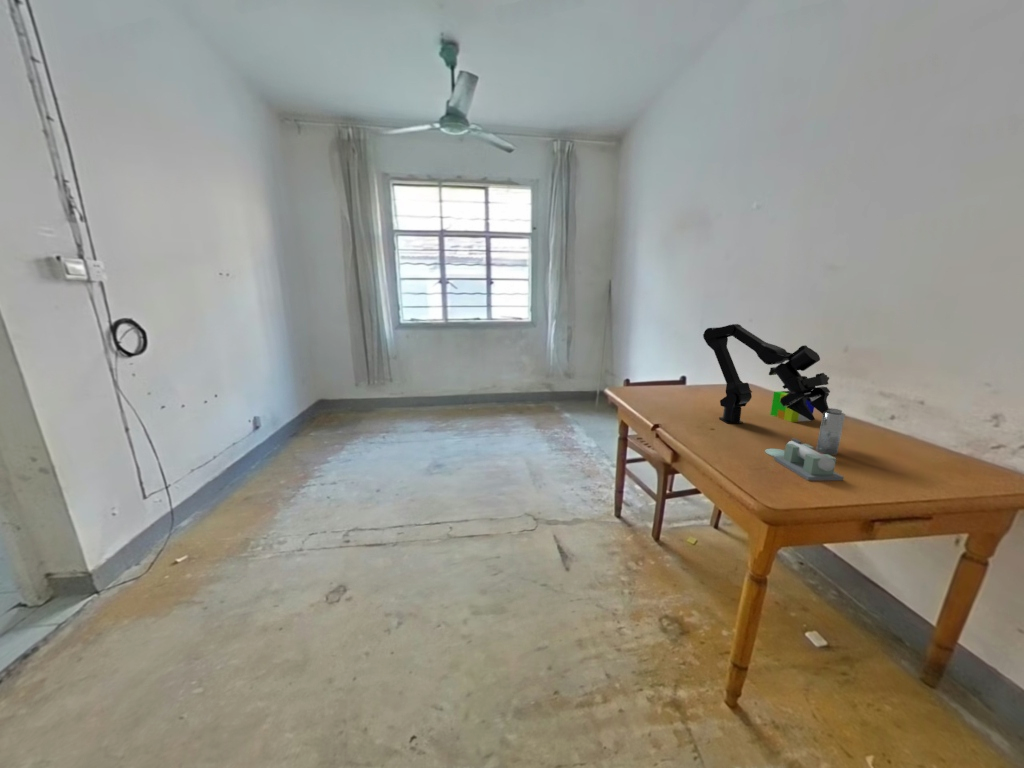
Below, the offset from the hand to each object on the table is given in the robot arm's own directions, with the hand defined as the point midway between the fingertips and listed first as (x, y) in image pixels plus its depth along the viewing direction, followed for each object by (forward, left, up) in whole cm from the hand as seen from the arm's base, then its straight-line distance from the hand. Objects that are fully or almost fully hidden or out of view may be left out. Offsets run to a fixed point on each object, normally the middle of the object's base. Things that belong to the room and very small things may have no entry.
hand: (821, 418), depth 133 cm
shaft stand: (+16, -16, -10) cm, 25 cm away
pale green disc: (+5, -16, -10) cm, 19 cm away
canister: (+3, +1, -10) cm, 11 cm away
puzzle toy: (-33, +15, -11) cm, 38 cm away
